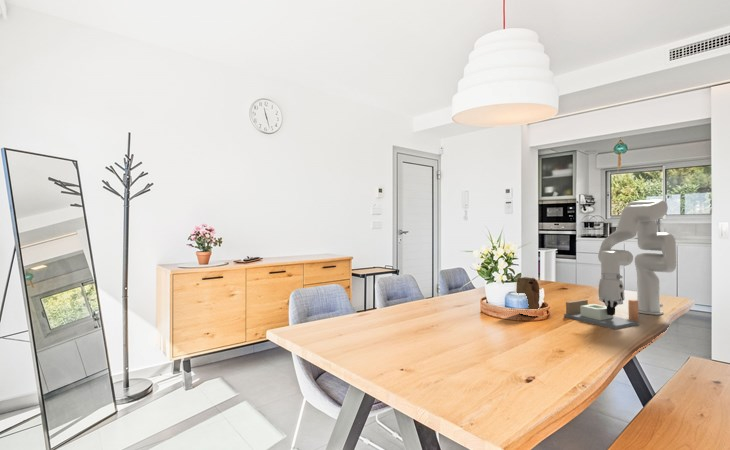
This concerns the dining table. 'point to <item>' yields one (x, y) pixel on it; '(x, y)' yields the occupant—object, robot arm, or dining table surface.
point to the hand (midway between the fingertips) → (611, 314)
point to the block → (529, 290)
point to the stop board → (614, 323)
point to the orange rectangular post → (633, 310)
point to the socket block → (595, 311)
